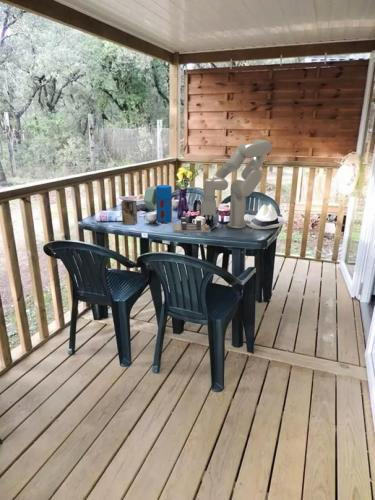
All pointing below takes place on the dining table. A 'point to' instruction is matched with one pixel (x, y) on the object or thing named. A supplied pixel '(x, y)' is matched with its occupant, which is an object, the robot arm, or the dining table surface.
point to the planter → (150, 198)
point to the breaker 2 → (184, 225)
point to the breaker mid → (198, 223)
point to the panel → (190, 228)
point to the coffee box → (129, 212)
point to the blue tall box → (164, 203)
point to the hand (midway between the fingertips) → (207, 224)
